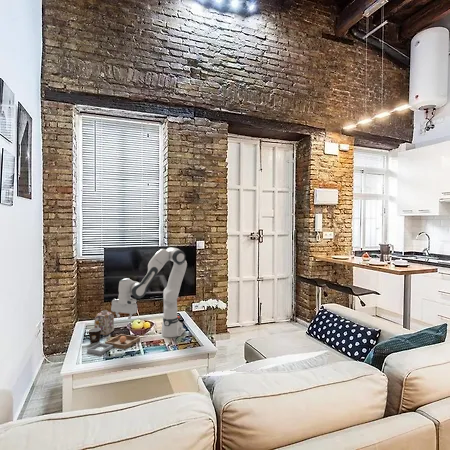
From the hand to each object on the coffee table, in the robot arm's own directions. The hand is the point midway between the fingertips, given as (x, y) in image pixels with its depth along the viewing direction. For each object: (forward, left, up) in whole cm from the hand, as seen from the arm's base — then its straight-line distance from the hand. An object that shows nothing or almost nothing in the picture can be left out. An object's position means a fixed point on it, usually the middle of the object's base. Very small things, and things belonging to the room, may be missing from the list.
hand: (123, 318), depth 244 cm
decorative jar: (-16, -32, -20) cm, 41 cm away
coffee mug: (+5, -24, -20) cm, 32 cm away
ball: (-1, -1, -19) cm, 19 cm away
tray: (+15, -8, -20) cm, 27 cm away
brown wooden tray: (-1, -1, -20) cm, 20 cm away
